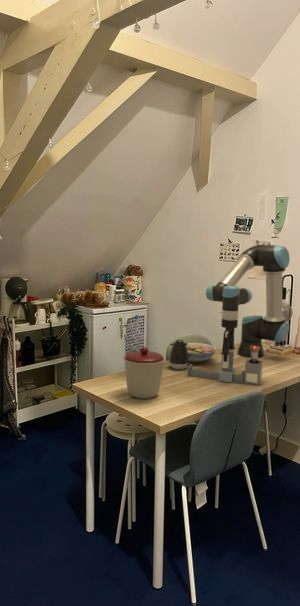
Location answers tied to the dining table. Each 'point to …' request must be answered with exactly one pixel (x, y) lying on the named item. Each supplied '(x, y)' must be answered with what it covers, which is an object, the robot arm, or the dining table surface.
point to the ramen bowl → (199, 351)
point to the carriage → (227, 370)
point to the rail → (213, 374)
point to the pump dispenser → (179, 355)
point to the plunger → (254, 353)
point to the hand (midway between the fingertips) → (227, 365)
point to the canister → (143, 372)
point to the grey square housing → (253, 372)
